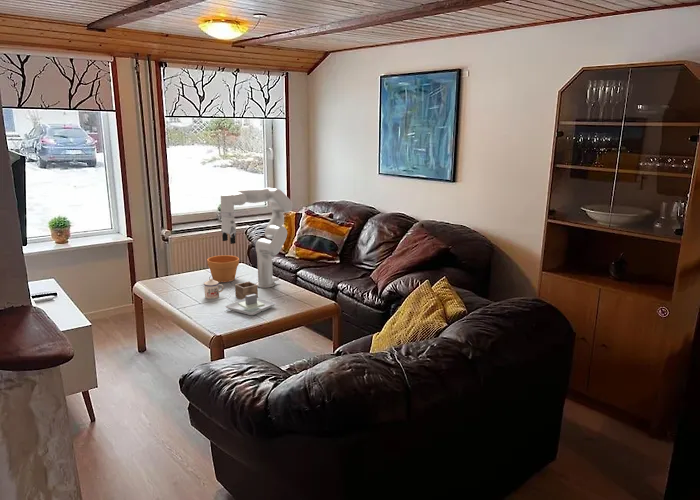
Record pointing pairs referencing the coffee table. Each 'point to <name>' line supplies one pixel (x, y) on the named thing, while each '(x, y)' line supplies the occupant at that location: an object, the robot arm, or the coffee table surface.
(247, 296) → the lid
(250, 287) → the crate
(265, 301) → the salad plate
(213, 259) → the flower pot
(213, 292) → the teacup with lid
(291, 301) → the coffee table surface
